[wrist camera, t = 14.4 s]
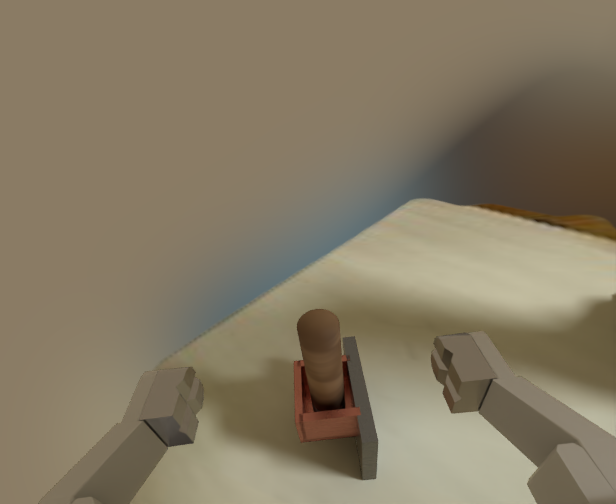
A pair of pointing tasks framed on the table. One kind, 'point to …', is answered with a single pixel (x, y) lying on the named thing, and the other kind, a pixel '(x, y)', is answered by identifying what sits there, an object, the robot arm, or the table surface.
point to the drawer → (340, 411)
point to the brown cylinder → (322, 359)
